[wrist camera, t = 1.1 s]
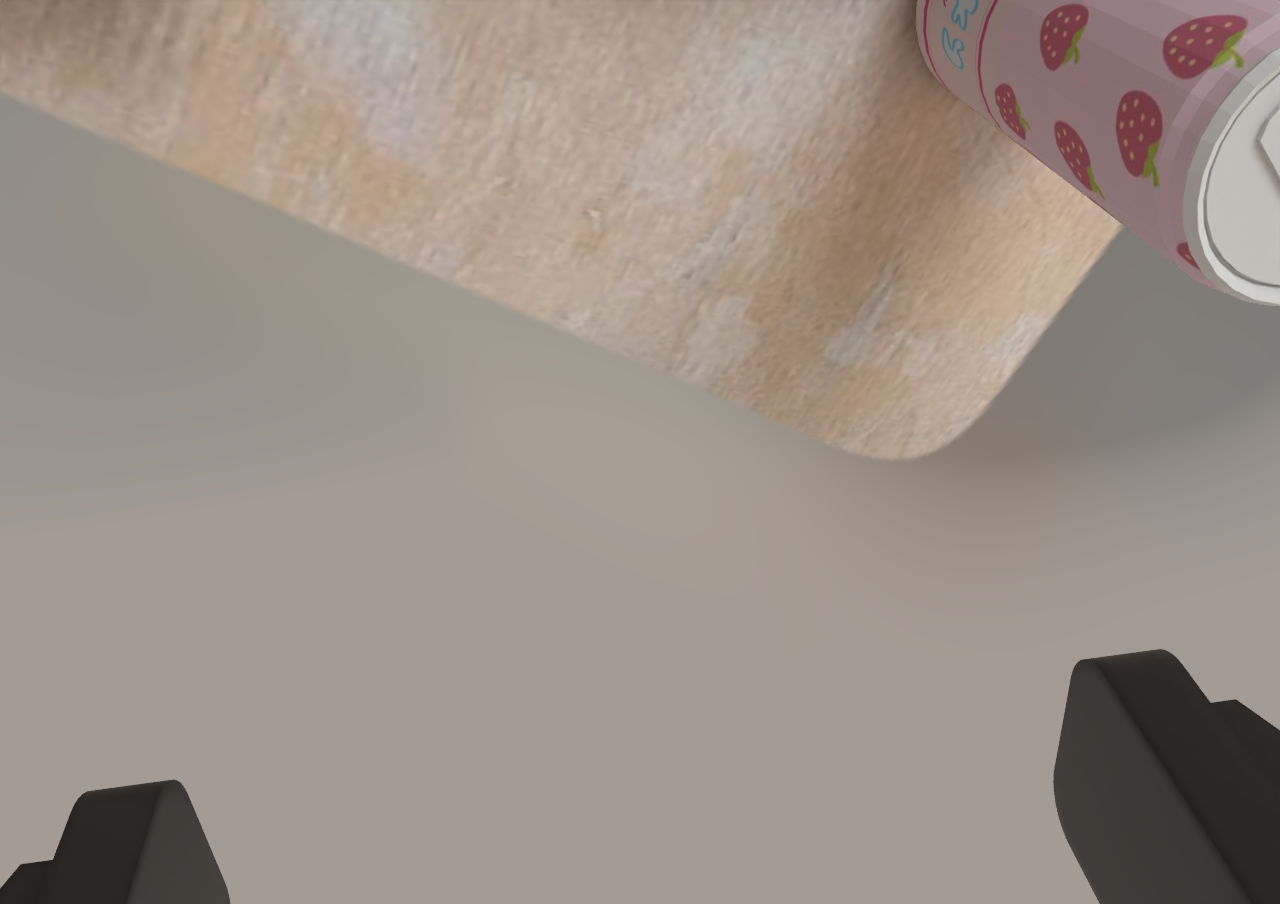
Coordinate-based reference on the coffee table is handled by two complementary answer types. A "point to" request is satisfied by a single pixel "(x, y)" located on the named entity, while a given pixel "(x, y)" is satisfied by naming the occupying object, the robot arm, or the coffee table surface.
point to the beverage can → (1137, 115)
